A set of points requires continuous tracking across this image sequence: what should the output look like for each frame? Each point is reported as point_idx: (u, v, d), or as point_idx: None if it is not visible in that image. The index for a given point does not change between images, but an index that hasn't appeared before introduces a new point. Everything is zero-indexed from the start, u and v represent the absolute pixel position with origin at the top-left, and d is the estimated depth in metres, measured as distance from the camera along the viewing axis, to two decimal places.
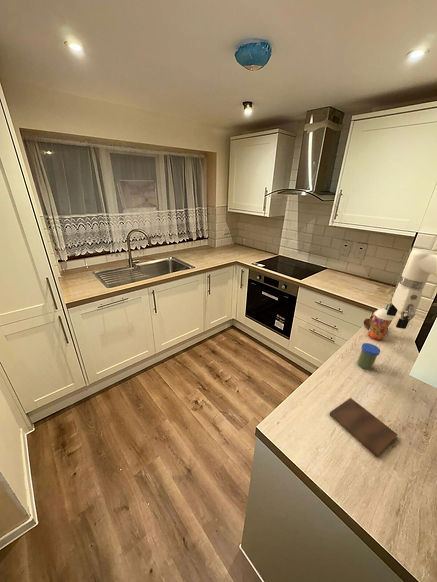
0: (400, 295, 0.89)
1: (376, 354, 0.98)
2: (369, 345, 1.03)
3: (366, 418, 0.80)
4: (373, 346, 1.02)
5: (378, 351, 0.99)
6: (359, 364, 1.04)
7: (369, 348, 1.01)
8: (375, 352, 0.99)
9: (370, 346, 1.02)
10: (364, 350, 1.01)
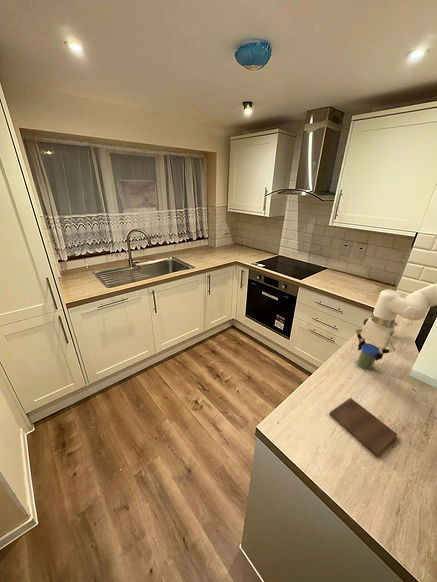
0: (377, 333, 0.95)
1: (376, 354, 0.98)
2: (369, 345, 1.03)
3: (366, 418, 0.80)
4: (373, 346, 1.02)
5: (378, 351, 0.99)
6: (359, 364, 1.04)
7: (369, 348, 1.01)
8: (375, 352, 0.99)
9: (370, 346, 1.02)
10: (364, 350, 1.01)
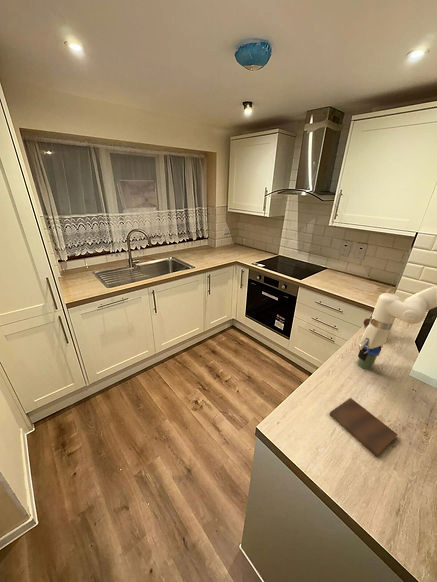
0: (384, 336, 0.96)
1: None
2: (366, 347, 1.01)
3: (366, 418, 0.80)
4: None
5: None
6: (359, 364, 1.04)
7: (373, 348, 1.00)
8: (377, 347, 1.01)
9: None
10: (377, 353, 0.98)
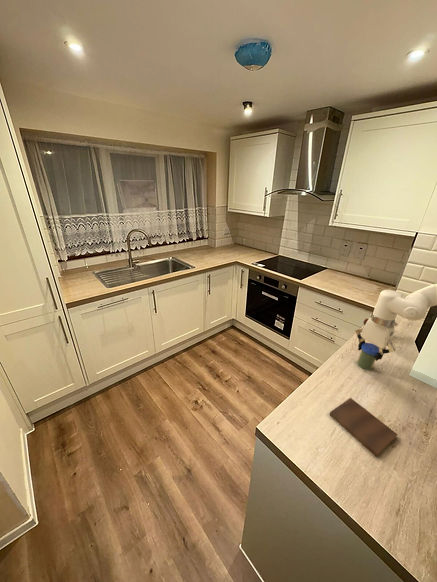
0: (377, 333, 0.95)
1: None
2: (366, 347, 1.01)
3: (366, 418, 0.80)
4: (366, 345, 1.03)
5: (373, 345, 1.03)
6: (359, 364, 1.04)
7: (373, 349, 1.00)
8: (377, 347, 1.01)
9: (369, 347, 1.01)
10: None
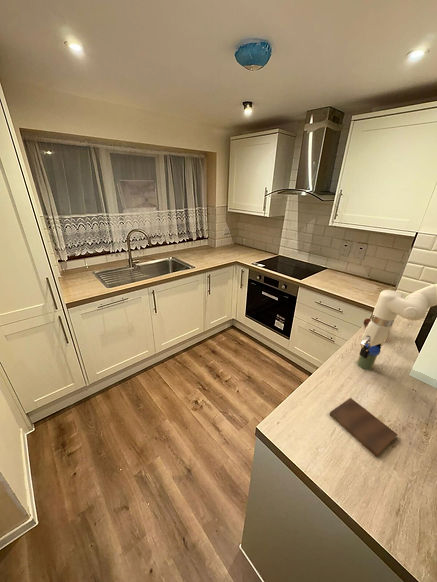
0: (385, 333, 0.96)
1: None
2: (372, 350, 0.99)
3: (366, 418, 0.80)
4: None
5: None
6: (359, 364, 1.04)
7: (373, 347, 1.01)
8: None
9: (372, 348, 1.00)
10: None
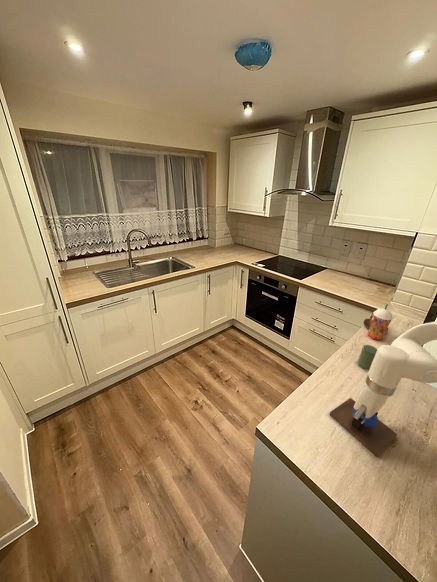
0: (385, 400, 0.71)
1: None
2: (368, 419, 0.75)
3: None
4: (362, 417, 0.76)
5: None
6: (359, 364, 1.04)
7: None
8: None
9: None
10: None
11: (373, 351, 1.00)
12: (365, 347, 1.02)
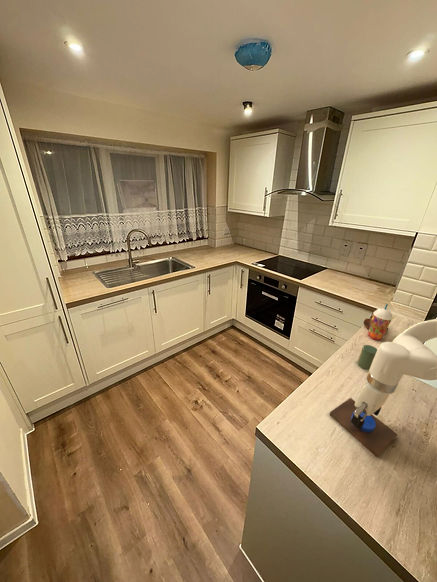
0: (386, 397, 0.71)
1: None
2: (365, 424, 0.76)
3: None
4: None
5: None
6: (359, 364, 1.04)
7: (366, 418, 0.78)
8: None
9: (365, 421, 0.77)
10: None
11: (373, 351, 1.00)
12: (365, 347, 1.02)
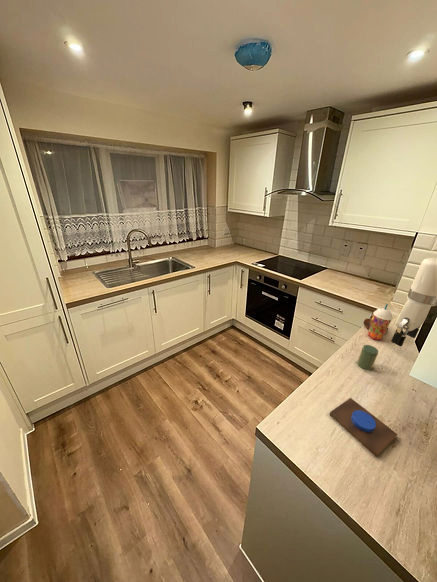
0: (426, 313, 0.76)
1: None
2: (365, 424, 0.76)
3: None
4: (360, 422, 0.77)
5: (354, 413, 0.79)
6: (359, 364, 1.04)
7: (366, 418, 0.78)
8: (358, 411, 0.80)
9: (365, 421, 0.77)
10: None
11: (373, 351, 1.00)
12: (365, 347, 1.02)
